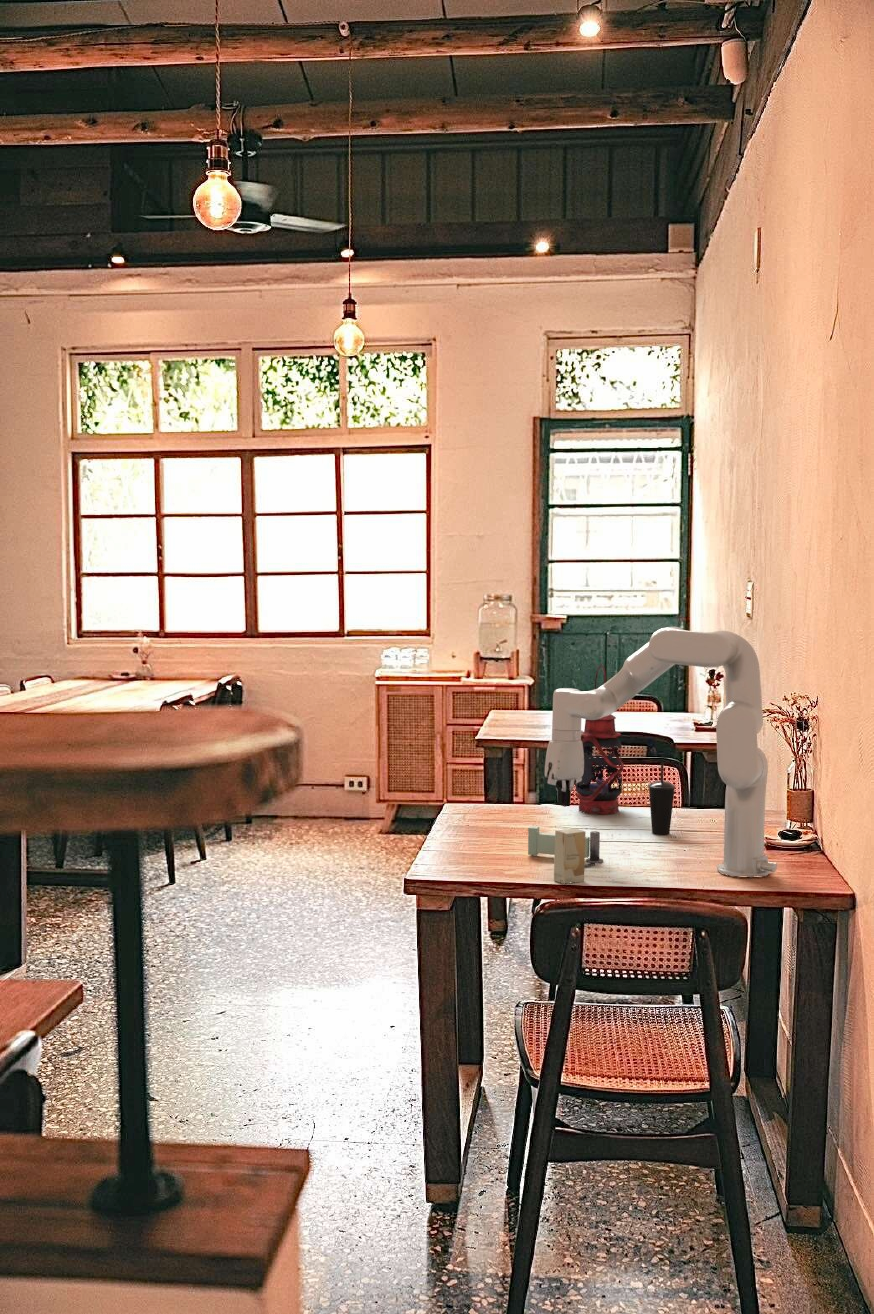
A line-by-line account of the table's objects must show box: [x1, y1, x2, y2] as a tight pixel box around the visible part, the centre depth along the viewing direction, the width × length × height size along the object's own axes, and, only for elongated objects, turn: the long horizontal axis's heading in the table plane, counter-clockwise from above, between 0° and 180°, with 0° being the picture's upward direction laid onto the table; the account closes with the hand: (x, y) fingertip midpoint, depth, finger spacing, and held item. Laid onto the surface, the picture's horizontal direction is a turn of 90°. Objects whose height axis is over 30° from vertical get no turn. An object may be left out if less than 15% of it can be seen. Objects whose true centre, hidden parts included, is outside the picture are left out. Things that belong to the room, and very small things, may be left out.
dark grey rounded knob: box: [585, 830, 604, 864], centre depth 308 cm, size 4×4×8 cm
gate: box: [527, 825, 590, 859], centre depth 312 cm, size 16×2×7 cm, turn 69°
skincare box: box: [553, 828, 586, 885], centre depth 289 cm, size 6×4×12 cm
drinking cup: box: [647, 762, 677, 836], centre depth 342 cm, size 8×8×20 cm
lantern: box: [575, 664, 625, 816], centre depth 372 cm, size 16×15×45 cm
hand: (563, 805), depth 318 cm, fingers closed
